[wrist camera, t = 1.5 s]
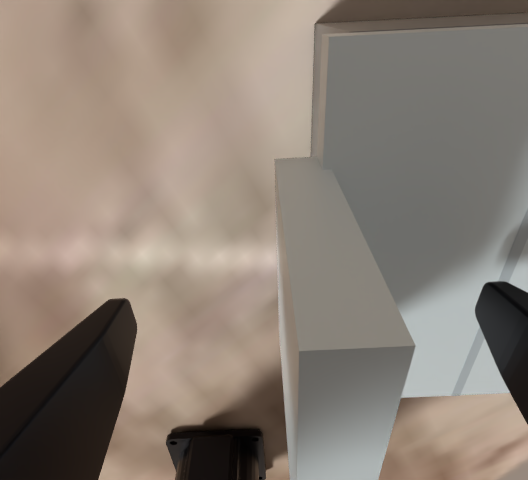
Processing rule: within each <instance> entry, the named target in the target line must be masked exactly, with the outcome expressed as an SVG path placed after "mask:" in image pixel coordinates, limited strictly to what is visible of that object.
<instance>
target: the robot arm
mask: <svg viewBox="0 0 528 480" xmlns="http://www.w3.org/2000/svg"><path fill="white" fill-rule="evenodd" d="M475 316H476V319H477V321H478V323H479V326H480V328H481V330H482V333H483V335H484V338H485V340H486V342H487V345H488V347H489V349H490V352H491V354H492V356H493V359H494V361H495V364H496V366H497V368H498V370H499V372H500V375H501V377H502V378H503V380H504V382H505V384H506V386H507V388H508V390H509V392H510V393H511V395H512V397H513V399H514V401H515V402H516V404H517V406H518V408H519V410H520V412H521V413H522V415H523V417H524V419H525V421H526V422H527V424H528V292H526V291H524V290H522V289H520V288H518V287H516V286H514V285H512V284H510V283H508V282H505V281H493V282H487V283H485V284H484V286H483V288H482V290H481V293H480V296H479V298H478V301H477V303H476V306H475ZM136 334H137V323H136V320H135V317H134V314H133V311H132V308H131V305H130V302H129V301H128V299H125V298H119V299H110V300H108V301H106V302H105V303H104V304H103V305H101V306H100V307H99V308H98V309H97V310H95V311H94V312H93V313H92V314H90V315H89V316H88V317H87V318H85V319H84V320H83V321H82V322H80V323H79V324H78V325H77V326H75V327H74V328H73V329H72V330H71V331H69V332H68V333H67V334H66V335H64V336H63V337H62V338H61V339H59V340H58V341H57V342H56V343H54V344H53V345H52V346H51V347H50V348H48V349H47V350H46V351H45V352H43V353H42V354H41V355H40V356H38V357H37V358H36V359H35V360H33V361H32V362H31V363H30V364H28V365H27V366H26V367H25V368H24V369H22V370H21V371H20V372H19V373H17V374H16V375H15V376H14V377H12V378H11V379H10V380H9V381H7V382H6V383H5V384H4V385H3V386H1V387H0V480H98V478H99V475H100V472H101V469H102V465H103V462H104V459H105V456H106V453H107V449H108V446H109V443H110V440H111V436H112V433H113V430H114V427H115V424H116V420H117V417H118V414H119V411H120V408H121V404H122V401H123V397H124V394H125V390H126V385H127V381H128V375H129V370H130V365H131V360H132V354H133V349H134V344H135V339H136ZM166 445H167V447H168V450H169V453H170V456H171V458H172V461H173V464H174V466H175V469H176V477H175V480H265V479H266V470H265V458H264V446H263V434H262V432H261V431H260V430H234V431H211V432H188V433H171V434H169V435H168V436H167V440H166Z"/></svg>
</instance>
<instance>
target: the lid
mask: <svg viewBox="0 0 528 480" xmlns="http://www.w3.org/2000/svg"><path fill="white" fill-rule="evenodd" d="M275 196H276V232H277V269H278V305H279V338H280V351H281V365H282V379H283V392H284V406H285V419H286V433H287V447H288V460H289V474H290V480H378V478H379V474H380V471H381V467H382V464H383V460H384V457H385V453H386V450H387V446H388V442H389V439H390V435H391V432H392V428H393V425H394V421H395V418H396V414H397V411H398V407H399V403H400V400H401V398H408V397H430V396H459V395H476V394H499V393H510V392H509V390H508V388H507V386H506V384H505V382H504V380H503V378H502V377H501V375H500V372H499V370H498V368H497V366H496V364H495V361H494V359H493V356H492V354H491V352H490V349H489V347H488V345H487V342H486V340H485V338H484V335H483V333H482V330H481V328H480V326H479V323H478V321H477V319H476V316H475V306H476V303H477V301H478V298H479V296H480V293H481V290H482V288H483V286H484V284H485V283H487V282H493V281H505V282H508V283H510V284H512V285H514V286H516V287H518V288H520V289H522V290H524V291H526V292H528V24H514V25H494V26H474V27H454V28H435V29H415V30H395V31H375V32H355V33H335V34H322V46H321V71H320V96H319V120H318V145H317V157H304V158H283V159H275Z"/></svg>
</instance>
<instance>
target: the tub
mask: <svg viewBox="0 0 528 480" xmlns="http://www.w3.org/2000/svg"><path fill="white" fill-rule="evenodd" d="M514 24H528V13H512V14H492V15H472V16H453V17H433V18H413V19H393V20H373V21H353V22H333V23H315V31H314V64H313V97H312V131H311V157H317V145H318V120H319V96H320V71H321V46H322V34H335V33H355V32H375V31H395V30H415V29H435V28H454V27H474V26H494V25H514Z"/></svg>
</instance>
